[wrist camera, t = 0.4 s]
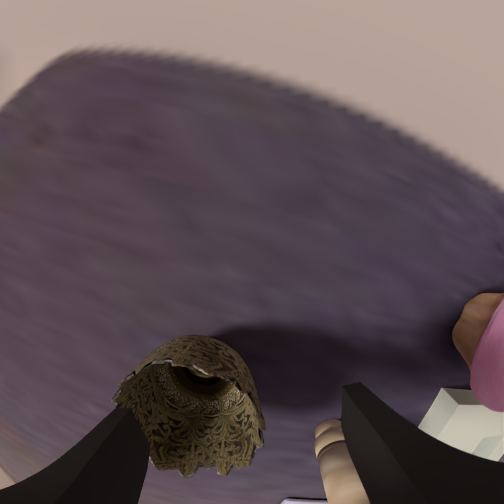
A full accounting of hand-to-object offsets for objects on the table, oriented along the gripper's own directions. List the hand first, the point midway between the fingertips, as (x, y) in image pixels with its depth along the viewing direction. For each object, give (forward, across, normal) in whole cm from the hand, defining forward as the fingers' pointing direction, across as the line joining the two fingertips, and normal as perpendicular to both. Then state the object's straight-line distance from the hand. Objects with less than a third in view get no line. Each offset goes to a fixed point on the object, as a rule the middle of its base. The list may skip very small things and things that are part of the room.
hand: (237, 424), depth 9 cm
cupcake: (+10, -18, +5) cm, 22 cm away
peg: (+9, -5, +12) cm, 16 cm away
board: (+8, -20, +20) cm, 30 cm away
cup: (+11, +3, +4) cm, 12 cm away
